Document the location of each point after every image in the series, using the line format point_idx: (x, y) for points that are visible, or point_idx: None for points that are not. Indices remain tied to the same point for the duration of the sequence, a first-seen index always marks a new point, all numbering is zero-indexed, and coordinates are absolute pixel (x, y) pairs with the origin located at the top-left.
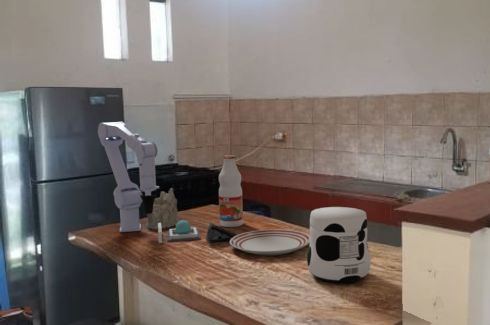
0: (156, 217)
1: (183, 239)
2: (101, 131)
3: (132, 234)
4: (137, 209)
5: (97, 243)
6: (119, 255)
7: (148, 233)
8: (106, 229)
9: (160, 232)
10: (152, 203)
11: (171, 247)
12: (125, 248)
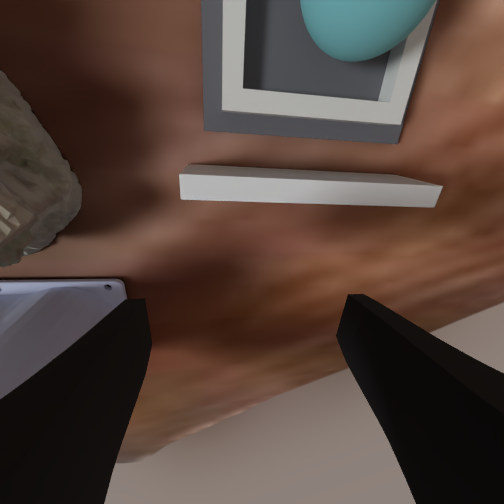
0: (24, 209)
1: (429, 28)
2: None
3: (182, 306)
4: (3, 393)
5: (276, 392)
6: (448, 323)
7: (180, 238)
8: None
9: (438, 193)
10: (497, 383)
11: (495, 132)
12: None
